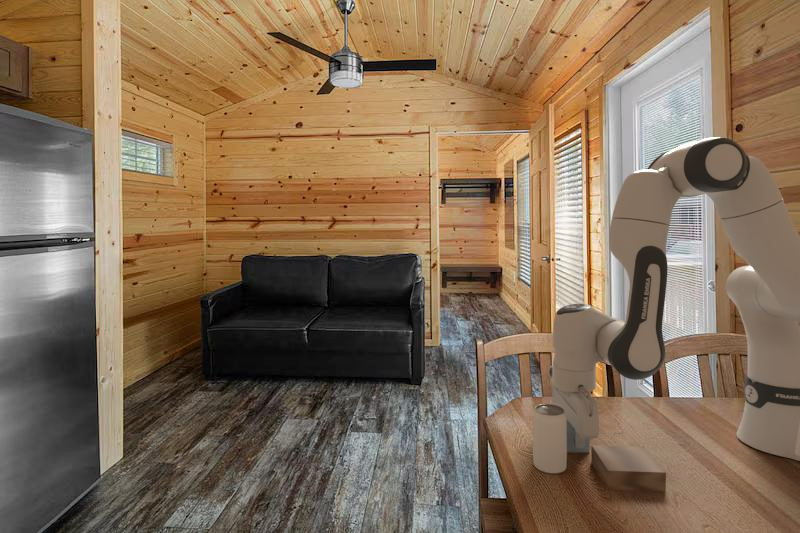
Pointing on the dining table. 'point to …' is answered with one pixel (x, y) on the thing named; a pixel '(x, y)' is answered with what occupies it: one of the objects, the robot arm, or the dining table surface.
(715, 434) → the dining table surface
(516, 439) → the dining table surface
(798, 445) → the robot arm
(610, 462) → the walnut block
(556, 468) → the can
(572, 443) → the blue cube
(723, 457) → the dining table surface
